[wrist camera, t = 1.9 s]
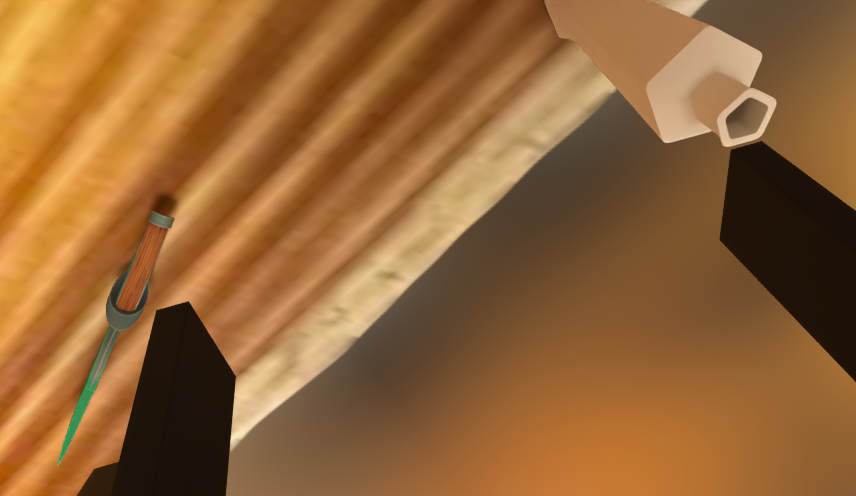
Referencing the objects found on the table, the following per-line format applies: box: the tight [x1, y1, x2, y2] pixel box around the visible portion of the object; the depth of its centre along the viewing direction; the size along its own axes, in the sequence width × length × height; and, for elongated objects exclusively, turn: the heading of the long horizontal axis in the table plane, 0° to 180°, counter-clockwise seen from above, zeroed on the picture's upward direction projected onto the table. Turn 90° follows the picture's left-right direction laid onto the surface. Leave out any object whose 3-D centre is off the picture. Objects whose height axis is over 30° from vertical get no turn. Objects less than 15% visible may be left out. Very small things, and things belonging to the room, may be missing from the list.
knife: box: [57, 211, 174, 467], centre depth 37 cm, size 20×2×5 cm, turn 150°
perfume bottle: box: [544, 0, 776, 147], centre depth 27 cm, size 5×4×15 cm
